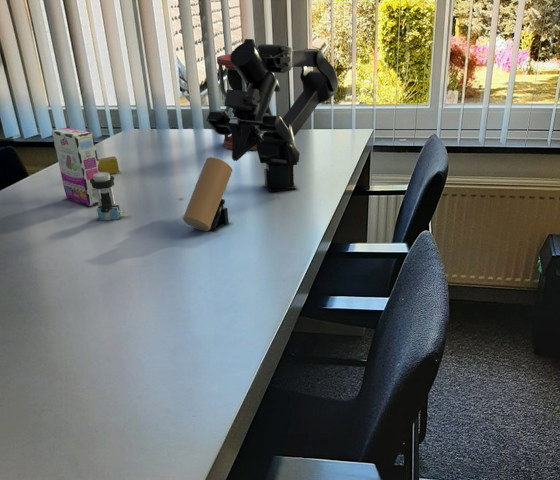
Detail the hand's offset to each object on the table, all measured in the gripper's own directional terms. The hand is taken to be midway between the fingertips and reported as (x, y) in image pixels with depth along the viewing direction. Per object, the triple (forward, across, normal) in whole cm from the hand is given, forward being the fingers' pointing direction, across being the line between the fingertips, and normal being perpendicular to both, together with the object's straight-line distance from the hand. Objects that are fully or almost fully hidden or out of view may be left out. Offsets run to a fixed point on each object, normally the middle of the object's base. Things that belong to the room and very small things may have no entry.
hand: (234, 159), depth 137 cm
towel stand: (+16, 0, +1) cm, 16 cm away
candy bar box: (+15, -40, +2) cm, 42 cm away
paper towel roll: (+16, 0, +1) cm, 16 cm away
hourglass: (-30, -32, +46) cm, 64 cm away
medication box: (+3, -52, +14) cm, 54 cm away
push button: (+20, -24, -3) cm, 31 cm away
